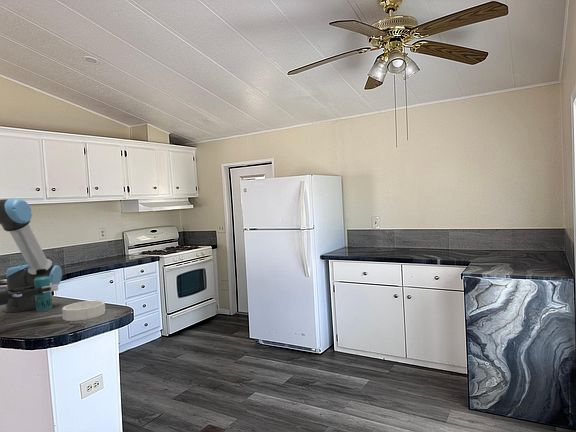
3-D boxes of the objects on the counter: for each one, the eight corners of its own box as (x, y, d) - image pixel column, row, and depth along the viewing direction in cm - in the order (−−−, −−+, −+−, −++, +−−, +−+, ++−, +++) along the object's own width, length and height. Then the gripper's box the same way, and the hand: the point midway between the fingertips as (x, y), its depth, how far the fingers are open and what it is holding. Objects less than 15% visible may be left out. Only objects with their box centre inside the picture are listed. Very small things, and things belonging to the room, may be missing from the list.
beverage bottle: (37, 312, 190) (34, 268, 190) (54, 309, 193) (50, 267, 192) (34, 315, 184) (30, 270, 183) (51, 313, 187) (47, 269, 186)
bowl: (57, 317, 198) (56, 307, 198) (95, 308, 211) (94, 299, 211) (72, 323, 186) (71, 312, 186) (111, 313, 199) (110, 303, 199)
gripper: (-10, 303, 181) (48, 292, 198) (2, 309, 168) (63, 296, 186) (-12, 286, 181) (46, 276, 198) (1, 290, 168) (62, 280, 185)
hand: (54, 286), depth 192 cm, fingers closed on beverage bottle, 6 cm apart
